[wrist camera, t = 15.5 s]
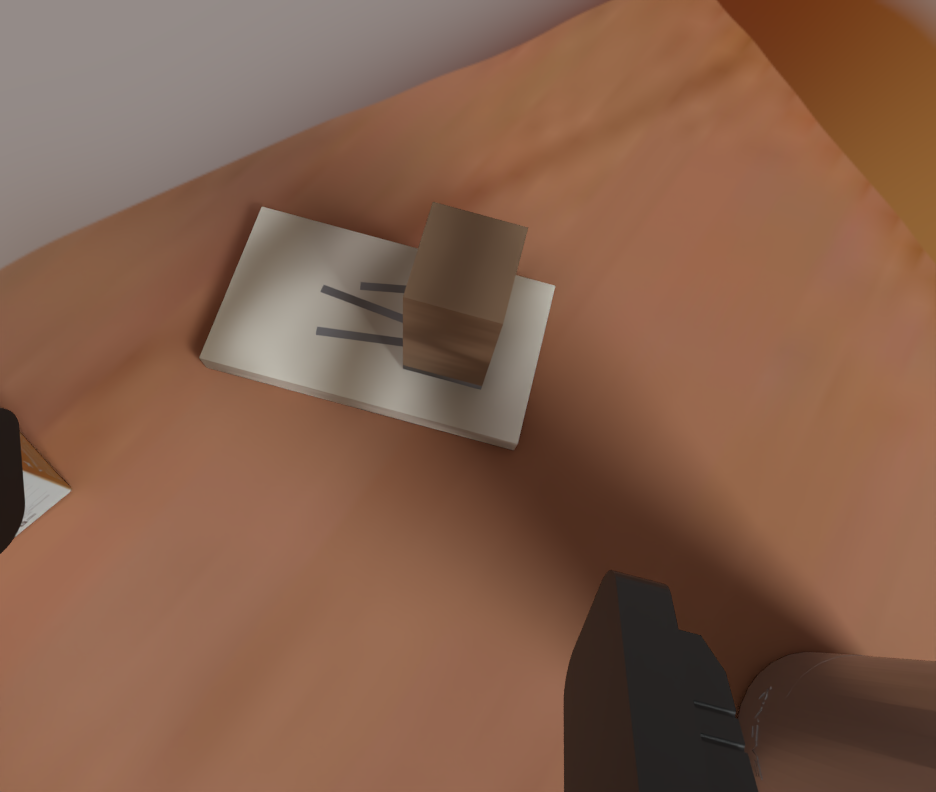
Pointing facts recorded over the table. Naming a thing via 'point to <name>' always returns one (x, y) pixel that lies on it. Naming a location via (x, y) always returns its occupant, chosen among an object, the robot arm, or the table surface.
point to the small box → (38, 484)
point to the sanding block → (459, 294)
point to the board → (362, 330)
